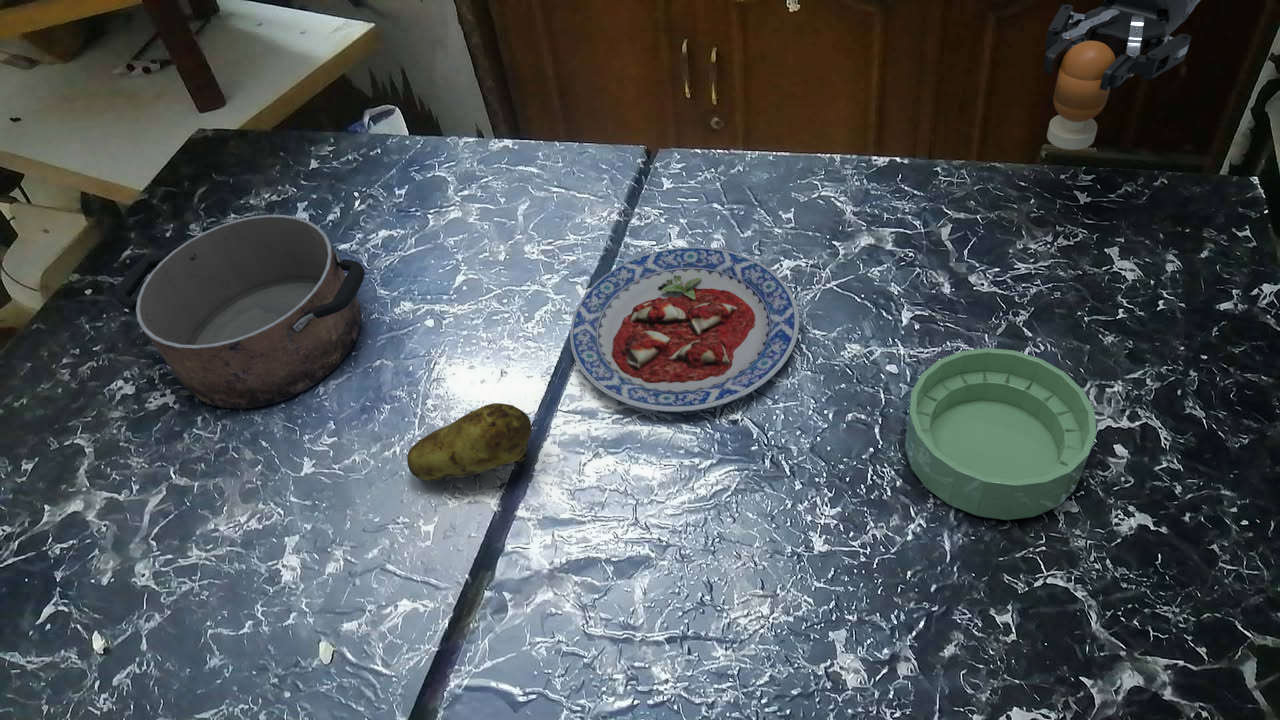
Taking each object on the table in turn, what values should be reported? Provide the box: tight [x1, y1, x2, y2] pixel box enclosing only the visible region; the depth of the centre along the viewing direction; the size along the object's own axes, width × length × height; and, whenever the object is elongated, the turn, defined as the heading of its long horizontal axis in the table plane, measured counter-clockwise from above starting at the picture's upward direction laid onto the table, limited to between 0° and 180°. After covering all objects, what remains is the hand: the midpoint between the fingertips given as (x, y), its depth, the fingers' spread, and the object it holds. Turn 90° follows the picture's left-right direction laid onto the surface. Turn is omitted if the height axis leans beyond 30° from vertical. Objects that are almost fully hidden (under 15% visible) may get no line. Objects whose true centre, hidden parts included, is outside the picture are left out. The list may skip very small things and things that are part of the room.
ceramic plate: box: [569, 246, 800, 413], centre depth 105 cm, size 26×26×3 cm
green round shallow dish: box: [904, 347, 1098, 521], centre depth 88 cm, size 16×16×6 cm
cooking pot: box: [114, 214, 366, 410], centre depth 110 cm, size 30×22×11 cm
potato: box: [406, 402, 532, 482], centre depth 94 cm, size 8×13×8 cm, turn 75°
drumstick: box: [1046, 41, 1117, 151], centre depth 97 cm, size 5×5×11 cm
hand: (1077, 73), depth 94 cm, fingers closed on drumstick, 5 cm apart
